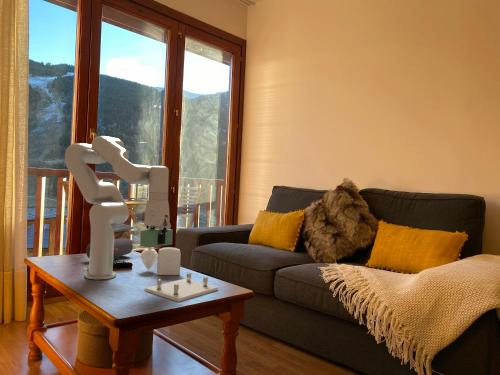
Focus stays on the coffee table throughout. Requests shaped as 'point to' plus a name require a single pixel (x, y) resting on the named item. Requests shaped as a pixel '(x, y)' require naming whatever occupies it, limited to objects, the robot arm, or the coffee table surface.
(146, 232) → the board block
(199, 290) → the standoff plate
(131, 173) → the robot arm
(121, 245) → the bluetooth speaker
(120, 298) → the coffee table surface
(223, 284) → the coffee table surface
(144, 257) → the spinning top
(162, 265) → the photo printer
